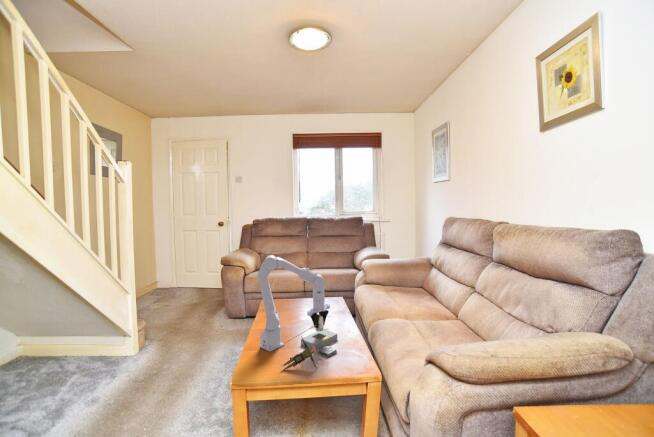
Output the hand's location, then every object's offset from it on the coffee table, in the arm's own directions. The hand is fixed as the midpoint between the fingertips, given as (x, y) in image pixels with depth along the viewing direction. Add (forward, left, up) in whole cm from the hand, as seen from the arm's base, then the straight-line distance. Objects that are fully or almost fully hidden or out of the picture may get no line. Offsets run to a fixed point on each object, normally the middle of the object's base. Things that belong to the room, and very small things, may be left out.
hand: (319, 326), depth 150 cm
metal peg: (0, 0, -2) cm, 2 cm away
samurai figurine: (-23, -8, -9) cm, 26 cm away
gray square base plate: (-6, -10, -8) cm, 15 cm away
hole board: (0, 0, -8) cm, 8 cm away
